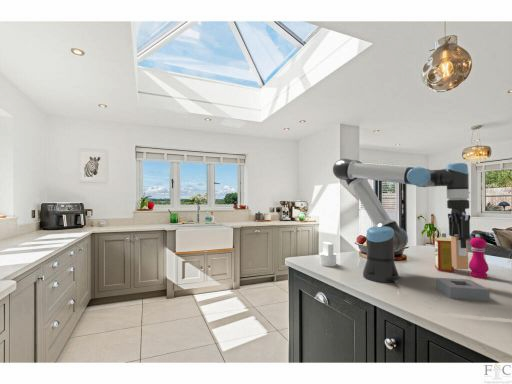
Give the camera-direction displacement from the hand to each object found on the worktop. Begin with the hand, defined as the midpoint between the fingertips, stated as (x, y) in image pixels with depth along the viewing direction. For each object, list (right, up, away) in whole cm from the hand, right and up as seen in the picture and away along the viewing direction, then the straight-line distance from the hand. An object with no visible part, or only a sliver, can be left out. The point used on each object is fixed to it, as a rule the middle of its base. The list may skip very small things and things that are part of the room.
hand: (459, 254), depth 112 cm
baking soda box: (+12, -14, +26) cm, 33 cm away
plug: (0, -6, 0) cm, 6 cm away
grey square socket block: (-9, -13, -13) cm, 20 cm away
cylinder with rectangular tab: (-46, -15, +37) cm, 61 cm away
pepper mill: (+20, -14, +13) cm, 28 cm away
